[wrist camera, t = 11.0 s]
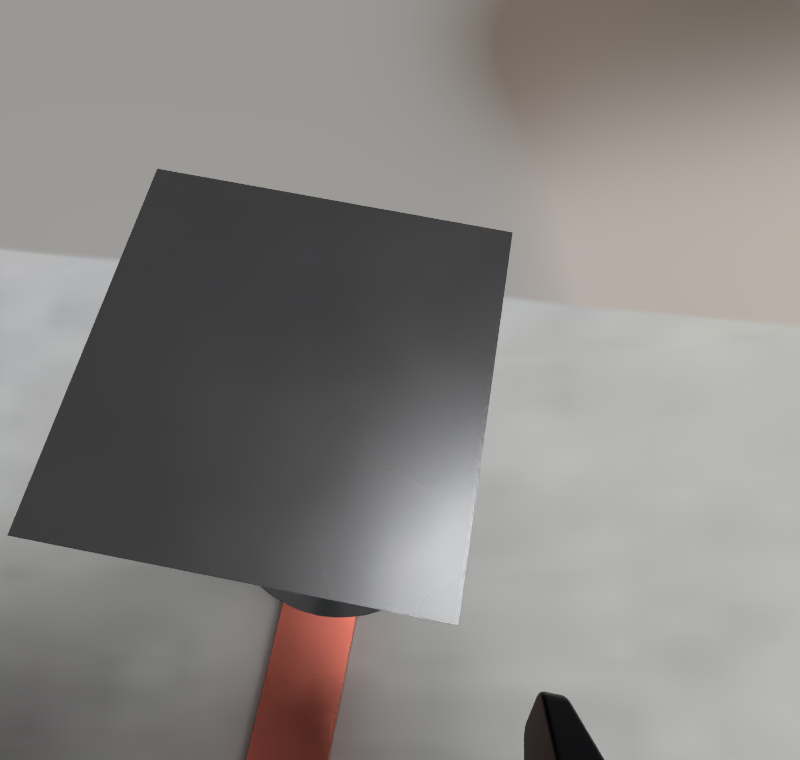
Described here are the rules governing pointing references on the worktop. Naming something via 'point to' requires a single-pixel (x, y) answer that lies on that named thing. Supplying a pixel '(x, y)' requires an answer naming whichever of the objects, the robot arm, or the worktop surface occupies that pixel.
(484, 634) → the worktop surface
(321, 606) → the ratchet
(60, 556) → the worktop surface
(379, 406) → the brushed metal block
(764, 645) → the worktop surface
